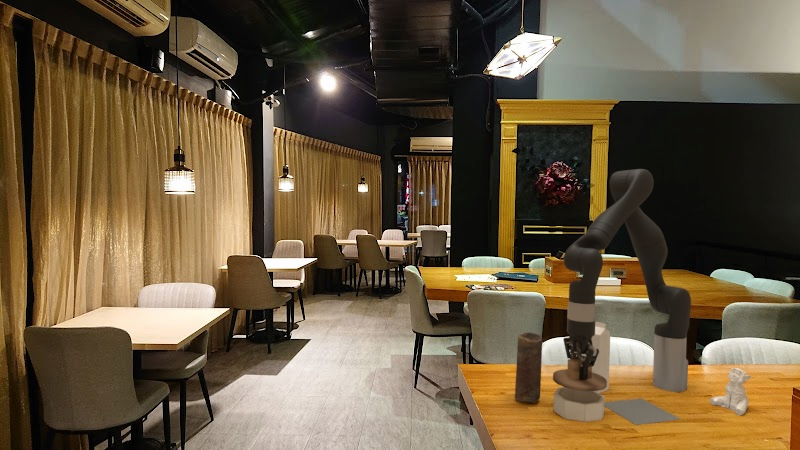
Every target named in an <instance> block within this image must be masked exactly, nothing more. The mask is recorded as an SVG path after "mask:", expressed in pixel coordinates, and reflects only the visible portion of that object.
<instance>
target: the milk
mask: <svg viewBox="0 0 800 450" xmlns="http://www.w3.org/2000/svg"><path fill="white" fill-rule="evenodd" d="M606 327H607V324H606V323H603V322H599V321H595V335H594V336H593V337H592V343H593V345H592V346H593V347H594V348H595V349H599V354H598V356H597V359H596V361H595V364H594V366H593V367H592V372H593V373H596V374H599V375H601V376H603V377H604V378H605V379H606V380H607V387H606V388H605V389H603V390H599V391H596V392H598V393H599V394H601V393H603V392H605V391H608V390H609V388H610V361H611V359H610V357H611V353H610V352H611V351H610V350H611V332H610V331H609V330H608V329H607V328H606ZM582 355H586V354H582Z"/></svg>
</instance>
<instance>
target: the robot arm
mask: <svg viewBox="0 0 800 450" xmlns="http://www.w3.org/2000/svg"><path fill="white" fill-rule="evenodd" d="M654 183H655V182H654V177H653V174H652V172H650V171H649V170H648V169H644V168H636V169H627V170H619V171H616V172H613V173H612V174H611V176H610V179H609V189H610V192H611V193H610V194H611V196H612V198H613V200H614V203H613V204H612V205H611V206H610V207H608V208H606V209H605V210H603V212H601V213H600V214H598V215H597V217H596V218H594V219H593V222H591V225H589V227H588V229H587V230H586V232H585V233H584V234H583V235H582V236H580V237H579V238H578V239H577V240H576V241H574V242H572V244H571V245H570V246H568V248H567V249H566V251H565V253H564V256H563V264H564V267H565V268H566V269H567V270H568V271H571V272H578V273H582V276H581V278H580V279H578V280H577V279H576V280H572V281H571V282H570V283H569V288H568V305H567V315H566V316H567V318H566V319H567V320H566V321H567V323H566V332H567V333H568V334H569V336H568V337H563V344H564V349H565V354H566V358H567V359H579V362H580V372H579V379H580V380H587V378H588V367H593V366H594V364H595V361H596V359H597V356H598V354H599V349H595V348H594V347H593V346H592V345H593V343H592V337H593V336H594V335H595V322H596V315H597V313H596V288H597V285H598V282H599V279H600V276H601V272H602V270H603V266H604V258H603V255H602V253H601V252H600V251H604V250H605V249H607V247H608V246H610V245H609V244H610V243H611V242H612V240H613V239H614V237H615V236H616V235H617V233H618V231H619V229H620V228H621V227H622V226H623V224H625V227H626V229H627V232H628V235H629V238H630V241H631V244H632V247H633V249H634V253H635V256H636V258H637V260H638V264H639V266H640V269H641V273H642V277H643V279H644V283H645V288H646V293H647V297H648V301H649V304H650V306H651V307H652V309H653V310H654V311H656V312H658V313H660V314H665V315H668V320H667V322H663V323H661V322H660V323H658V324H657V323H656V324H655V326H654V335H653V337H654V338H653V361H652V362H653V367H652V368H653V369H652V370H653V371H652V386H654V387H655V388H657V389H659V390H663V391H668V392H674V393H682V392H684V391H685V390H688V380H689V379H688V378H689V377H688V376H689V360H688V359H687V358H686V357H687V335H688V330H689V328H690V317H691V308H692V299H691V298H692V297H691V294H690V292H689V291H688V290H687V289H685V288H682V287H678V286H671V285H667V284H666V282H665V279H664V278H663V272H662V271H663V270H662V269H663V267H664V265H665V263H666V260H667V257H668V253H669V252H668V251H669V249H668V246H667V243H666V239H665V236H664V233H663V232H662V230H661V228H660V227H659V226H658V225H657V224H656V222H654V221H653V220H652V219H651V218H650V217H649V216H648V215H647V214H645V213H644V211H643V210H642V209H641V207H640V205H642V204H643V203H644V202H645V201H646V200H647V199H648V197H650V195H651V193H652V191H653V189H654ZM583 354H586V355H583ZM583 359H585V362H583Z"/></svg>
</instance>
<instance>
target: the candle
mask: <svg viewBox="0 0 800 450" xmlns="http://www.w3.org/2000/svg"><path fill="white" fill-rule="evenodd" d="M516 348H517V352H516V369H515V371H516V373H515V389H514V398H515V399H516V401H518V402H523V403H527V404H534V403H536V402H538V401H539V400H540V399H541V385H542V384H541V382H542V359H543V358H542V357H543V354H542V353H543V337H542V336H541V335H540V334H538V333H533V332H531V331H530V332H521V333H519V334H518V335H517V347H516Z"/></svg>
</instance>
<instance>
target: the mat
mask: <svg viewBox="0 0 800 450" xmlns="http://www.w3.org/2000/svg"><path fill="white" fill-rule="evenodd" d="M604 408H607V409H609V410H610V411H612V412H614V413H615V414H616V415H618V416H620V417H622V418H623V419H625V420H627V421H628V422H629V423H632V424H633V425H635V426H639V425H648V424H656V423H665V422H670V421H679V420H681V418H680V417H678V416H676V415H674V414H672V413H671V412H668V411H666V410H665V409H663V408H661V407H659V406H657V405H656V404H654V403H651V402H650V401H647V400H645V399H643V398H641V397H640V398H639V397H638V398H631V399H623V400H612V401H605V403H604Z"/></svg>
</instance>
